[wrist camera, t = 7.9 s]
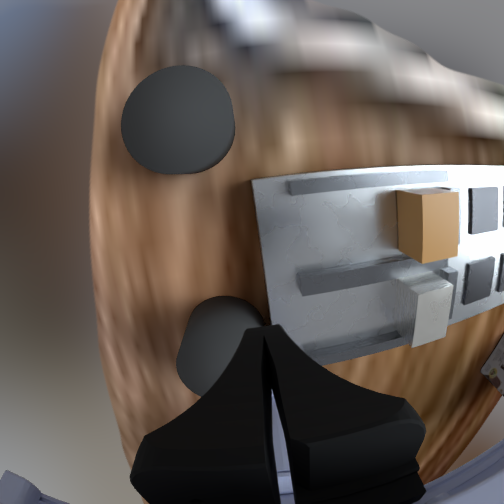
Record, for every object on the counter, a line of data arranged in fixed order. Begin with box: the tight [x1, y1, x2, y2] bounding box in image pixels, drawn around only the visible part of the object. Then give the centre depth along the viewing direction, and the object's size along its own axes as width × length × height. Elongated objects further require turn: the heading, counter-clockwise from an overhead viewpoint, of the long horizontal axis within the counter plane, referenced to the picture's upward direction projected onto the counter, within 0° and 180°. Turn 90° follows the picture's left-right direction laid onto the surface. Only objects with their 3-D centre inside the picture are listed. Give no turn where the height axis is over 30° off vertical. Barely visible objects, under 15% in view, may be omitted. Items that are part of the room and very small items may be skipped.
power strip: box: [251, 164, 504, 366], centre depth 18 cm, size 26×13×6 cm, turn 98°
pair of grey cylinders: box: [121, 65, 264, 397], centre depth 18 cm, size 6×21×5 cm, turn 8°
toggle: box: [397, 188, 459, 264], centre depth 16 cm, size 3×4×3 cm
